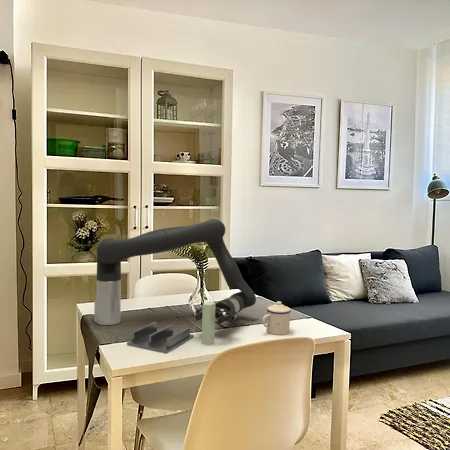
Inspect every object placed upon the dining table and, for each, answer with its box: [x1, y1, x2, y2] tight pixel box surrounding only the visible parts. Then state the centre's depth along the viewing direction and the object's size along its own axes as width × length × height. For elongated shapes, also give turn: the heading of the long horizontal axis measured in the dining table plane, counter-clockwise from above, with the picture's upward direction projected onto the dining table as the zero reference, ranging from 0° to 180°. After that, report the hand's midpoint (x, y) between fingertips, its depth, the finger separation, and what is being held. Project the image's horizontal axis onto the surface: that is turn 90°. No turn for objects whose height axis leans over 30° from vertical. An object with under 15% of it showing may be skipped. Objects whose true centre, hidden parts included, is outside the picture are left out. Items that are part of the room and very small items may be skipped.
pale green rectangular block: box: [201, 301, 217, 346], centre depth 157 cm, size 3×4×14 cm
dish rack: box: [126, 321, 195, 354], centre depth 158 cm, size 16×18×4 cm
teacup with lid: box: [261, 300, 291, 336], centre depth 171 cm, size 12×9×12 cm
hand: (207, 319), depth 156 cm, fingers open, 8 cm apart
